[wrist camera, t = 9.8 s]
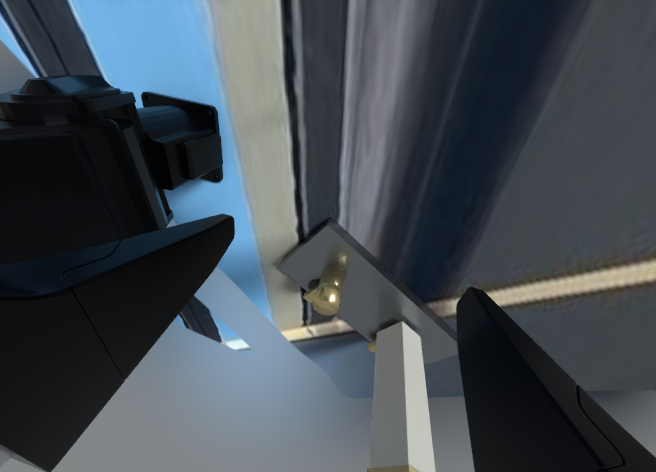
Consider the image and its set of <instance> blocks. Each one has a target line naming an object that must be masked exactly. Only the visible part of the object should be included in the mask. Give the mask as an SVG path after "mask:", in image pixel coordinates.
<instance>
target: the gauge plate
mask: <svg viewBox="0 0 656 472" xmlns="http://www.w3.org/2000/svg"><path fill="white" fill-rule="evenodd" d="M278 268H279V269H280V270H281V271H282V272H284V273H285V274H286V275H287V276H289V277H290V278H291V279H292V280H294V281H295V282H296V283H297V284H299V285H300V286H301V287H302V288H304V289H305V290H306V291H307V292H306V293H305V294H304V297H303V298H304V299H305V300H307V301H308V302H309V303H311V302H312V306H313V308H314V309H315V310H316V311H317V312H318V313H320V314H322V315H334V314H336V315H338V316H339V317H340V318H341V319H343V320H344V321H345V322H346V323H348V324H349V325H350V326H351V327H353V328H354V329H355V330H356V331H358V332H359V333H360V334H361V335H363V336H364V337H365V338H366V339H368V340H369V341H370V342H374V341H376V339H377V332H379V331H381V330H384V329H386V328H388V327H390V326H392V325H395V324H397V323H399V322H401V321H403V322H404V323H405V324H406V325H407V326H408V327H410V328H411V329H412V330H413V331H414V332H415V333H417V334H418V335H419V336H420V338H421V347H422V356H423V365H426V364H429V363H432V362H435V361H438V360H441V359H445V358H448V357H451V356H454V355H457V354H458V347H457V333H456V332H455V331H454V330H453V329H452V328H451V327H450V326H448V325H447V324H446V323H445V322H444V321H443V320H442V319H441V318H440V317H439V316H438V315H436V314H435V313H434V312H433V311H432V310H431V309H430V308H429V307H428V306H427V305H426V304H425V303H423V302H422V301H421V300H420V299H419V298H418V297H417V296H416V295H415V294H414V293H413V292H412V291H410V290H409V289H408V288H407V287H406V286H405V285H404V284H403V283H402V282H401V281H400V280H399V279H397V278H396V277H395V276H394V275H393V274H392V273H391V272H390V271H389V270H388V269H387V268H386V267H384V266H383V265H382V264H381V263H380V262H379V261H378V260H377V259H376V258H375V257H374V256H372V255H371V254H370V253H369V252H368V251H367V250H366V249H365V248H364V247H363V246H362V245H361V244H359V243H358V242H357V241H356V240H355V239H354V238H353V237H352V236H351V235H350V234H349V233H348V232H346V231H345V230H344V229H343V228H342V227H341V226H340V225H339V224H338V223H337V222H336V221H335V220H333V219H332V218H331V217H330V218H329V219H328V220H327V221H326V222H325V223H324V224H322V225H321V226H320V227H319V228H318V229H317V230H316V231H314V232H313V233H312V234H311V235H310V236H309V237H308V238H307V239H305V240H304V241H303V242H302V243H301V244H300V245H299V246H297V247H296V248H295V249H294V250H293V251H292V252H291V253H289V254H288V255H287V256H286V257H285V258H284V259H283V260H282V262H281V263H280V265H279V267H278Z"/></svg>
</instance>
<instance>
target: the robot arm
mask: <svg viewBox="0 0 656 472" xmlns="http://www.w3.org/2000/svg"><path fill="white" fill-rule="evenodd" d="M141 97H142V102H143V106H144V108H138V109H136V106H135V103H134V102H136V100H135V97H134V94H133V92H126V91H120V89H118V88H113V87H112V86H110V85H109V84H108V83H107V82H106V81H105V80H104V79H103V78H102V77H101V76H96V75H63V76H50V77H41V78H34V79H28V80H27V81H26V83H25V84H24V86H23V87H22V88H19V89H16V90H13V91H10V92H6V93H3V94H0V468H1V467H2V466H3V464H5V463H6V462H7V461H8V460H9V459H10V458H13V459H15V460H18V461H20V462H23V463H25V464H28V465H30V466H33V467H35V468H38V469H40V470H42V471H44V472H51V471H52V470H53V469H54V468H55V467H56V465H57V464H58V463H59V462H60V461H61V459H62V458H63V457H64V456H65V455H66V453H67V452H68V451H69V450H70V448H71V447H72V446H73V445H74V443H75V442H76V441H77V440H78V438H79V437H80V436H81V435H82V433H83V432H84V431H85V430H86V428H87V427H88V426H89V425H90V424H91V422H92V421H93V420H94V419H95V417H96V416H97V415H98V414H99V412H100V411H101V410H102V409H103V407H104V406H105V405H106V404H107V402H108V401H109V400H110V399H111V397H112V396H113V395H114V394H115V393H116V391H117V390H118V389H119V387H120V386H121V385H122V384H123V383H124V381H125V379H126V378H127V377H128V376H129V375H130V374H131V372H132V371H133V370H134V369H135V367H136V366H137V365H138V364H139V362H140V361H141V360H142V359H143V357H144V356H145V355H146V354H147V352H148V351H149V350H150V349H151V348H152V346H153V345H154V344H155V343H156V341H157V340H158V339H159V338H160V336H161V335H162V334H163V333H164V331H165V330H166V329H167V328H168V326H169V325H170V324H171V323H172V321H173V320H174V319H175V318H176V316H177V315H178V314H179V313H180V312H181V310H182V309H183V308H184V307H185V305H186V304H187V303H188V302H189V300H190V299H191V298H192V297H193V295H194V294H195V293H196V292H197V290H198V289H199V288H200V287H201V285H202V284H203V283H204V282H205V280H206V279H207V278H208V277H209V275H210V274H211V273H212V272H213V270H214V269H215V267H216V266H217V264H218V263H219V261H220V260H221V258H222V257H223V255H224V253H225V252H226V250H227V249H228V247H229V245H230V244H231V242H232V241H233V239H234V235H235V229H234V218H233V217H232V216H229V215H226V214H219V215H216V216H212V217H208V218H204V219H200V220H196V221H192V222H188V223H184V224H180V225H177V226H173V227H169V228H166V227H167V225H168V224H169V222H170V221H171V220H172V218H173V217H174V216H173V213H172V210H170V208H169V205H168V202H167V199H166V196H165V193H164V191H165V190H174V189H176V188H178V187H179V186H181V185H183V184H185V183H187V182H189V181H191V180H192V181H193V180H196V179H198V178H201V179H205V180H209V181H213V182H220V181H221V180H222V179H223V170H222V164H223V159H222V147H221V136H220V135H219V123H218V113H217V110H216V108H215V107H214V106H212V105H207V104H203V103H198V102H194V101H189V100H185V99H180V98H175V97H171V96H166V95H162V94H157V93H153V92H143V93H142V95H141ZM148 97H149V99H150V101H149V99H148ZM209 110H211V112H212V115H211V114H210V113H209ZM216 175H217V176H218V178H217V177H216ZM456 312H457V347H458V355H459V363H460V370H461V377H462V384H463V391H464V398H465V405H466V412H467V419H468V426H469V433H470V441H471V448H472V454H473V462H474V469H475V472H656V458H655V456H653V455H652V454H651V453H650V452H649V451H648V450H647V449H646V448H645V447H644V446H642V445H641V444H640V443H639V442H638V441H637V440H636V439H635V438H633V436H632V435H630V434H629V433H628V432H627V431H626V430H625V429H624V428H623V427H622V426H621V425H620V424H619V423H617V422H616V421H615V420H614V419H613V418H612V417H611V416H610V415H609V414H608V413H607V412H606V411H605V410H604V409H603V408H602V407H601V406H600V405H599V404H598V403H597V402H595V401H594V400H593V399H592V398H591V397H590V396H589V395H588V394H587V393H586V392H585V391H584V390H583V389H582V388H581V387H580V386H579V385H576V382H575V381H574V380H573V379H572V378H571V377H570V376H569V375H568V374H567V373H566V372H565V371H564V370H563V369H562V368H561V367H560V366H559V365H558V364H557V363H556V362H555V361H554V360H553V359H552V358H551V357H550V356H549V355H548V354H547V353H546V352H545V351H544V350H543V349H542V348H541V347H540V346H539V345H538V344H537V343H536V342H535V341H534V340H533V339H532V338H531V337H530V336H528V335H527V334H526V333H525V332H524V331H523V330H522V329H521V328H520V327H519V326H518V325H517V324H516V323H515V322H514V321H513V320H512V319H511V318H510V317H509V316H508V315H507V314H506V313H505V312H504V311H503V310H502V309H501V308H500V307H499V306H498V305H497V304H496V303H495V302H494V301H493V300H492V299H491V298H490V297H489V296H488V295H487V294H486V293H485V292H484V291H483V290H480V289H477V288H473V287H470V288H468V289H467V290H466V292H465V293H464V294H463V296H462V297H461V298H460V300H459V301H458V303H457V307H456Z"/></svg>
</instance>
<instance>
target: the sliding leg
mask: <svg viewBox="0 0 656 472" xmlns="http://www.w3.org/2000/svg"><path fill="white" fill-rule="evenodd" d="M368 349H369V350H370V351H371V352H373V353H375V352H376V357H375V375H374V393H373V411H372V412H373V413H372V430H371V447H370V448H371V449H370V466H369V468H368V469H367V472H435V464H434V456H433V446H432V437H431V429H430V420H429V410H428V401H427V392H426V383H425V374H424V365H423V356H422V347H421V338H420V336H419V335H418V334H417V333H415V332H414V331H413V330H412V329H411V328H410V327H408V326H407V325H406V324H405V323H404V322H403V321H401V322H399V323H397V324H395V325H392V326H390V327H388V328H386V329H384V330H381V331H379V332H377V339H376V341H374V342H371V343H369V344H368Z"/></svg>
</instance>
